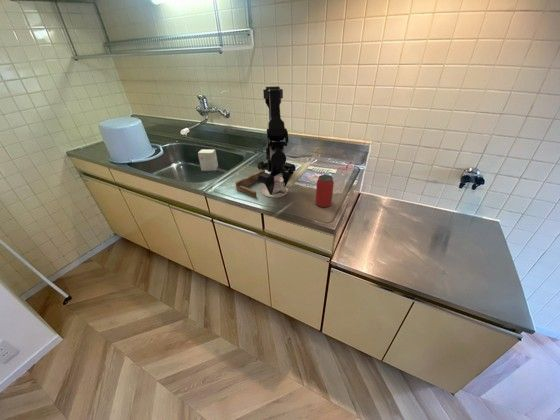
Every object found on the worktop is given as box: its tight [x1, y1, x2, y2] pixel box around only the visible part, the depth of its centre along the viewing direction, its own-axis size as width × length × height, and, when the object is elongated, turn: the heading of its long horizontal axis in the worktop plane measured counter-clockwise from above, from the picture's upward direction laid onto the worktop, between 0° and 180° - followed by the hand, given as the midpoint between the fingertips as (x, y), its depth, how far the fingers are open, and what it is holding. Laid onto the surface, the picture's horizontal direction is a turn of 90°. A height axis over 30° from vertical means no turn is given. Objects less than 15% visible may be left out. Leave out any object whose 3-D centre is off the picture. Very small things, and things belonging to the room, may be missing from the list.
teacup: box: [261, 175, 289, 198], centre depth 111 cm, size 12×12×6 cm
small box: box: [197, 149, 219, 172], centre depth 132 cm, size 8×6×10 cm
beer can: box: [315, 174, 335, 208], centre depth 99 cm, size 7×7×12 cm
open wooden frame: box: [235, 170, 266, 198], centre depth 116 cm, size 18×12×4 cm, turn 139°
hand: (277, 190), depth 109 cm, fingers open, 9 cm apart
